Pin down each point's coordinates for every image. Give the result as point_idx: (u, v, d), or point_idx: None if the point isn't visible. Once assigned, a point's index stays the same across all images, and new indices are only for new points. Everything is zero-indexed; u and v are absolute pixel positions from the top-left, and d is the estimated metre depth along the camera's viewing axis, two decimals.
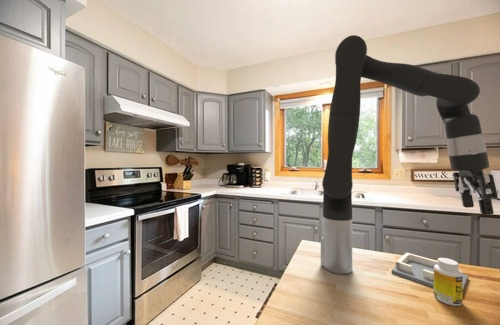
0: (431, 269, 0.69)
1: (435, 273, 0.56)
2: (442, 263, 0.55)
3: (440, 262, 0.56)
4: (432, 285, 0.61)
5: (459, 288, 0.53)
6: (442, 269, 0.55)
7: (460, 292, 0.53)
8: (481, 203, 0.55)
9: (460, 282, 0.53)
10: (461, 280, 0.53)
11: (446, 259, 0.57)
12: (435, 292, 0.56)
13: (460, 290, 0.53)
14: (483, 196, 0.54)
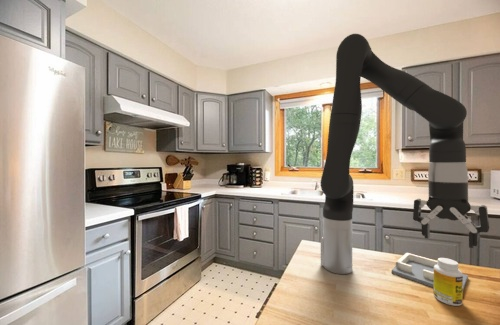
0: (431, 269, 0.69)
1: (435, 273, 0.56)
2: (442, 263, 0.55)
3: (440, 262, 0.56)
4: (432, 285, 0.61)
5: (459, 288, 0.53)
6: (442, 269, 0.55)
7: (460, 292, 0.53)
8: (472, 236, 0.51)
9: (460, 282, 0.53)
10: (461, 280, 0.53)
11: (446, 259, 0.57)
12: (435, 292, 0.56)
13: (460, 290, 0.53)
14: (486, 229, 0.50)
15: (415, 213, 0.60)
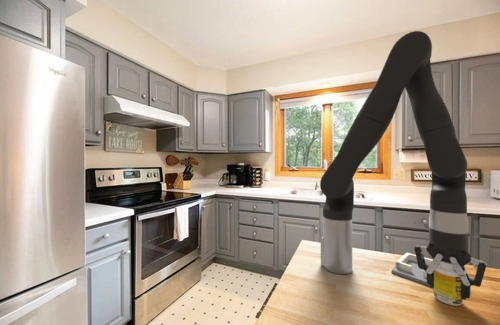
0: None
1: (435, 273, 0.56)
2: (442, 263, 0.55)
3: (440, 262, 0.56)
4: None
5: (459, 288, 0.53)
6: (442, 269, 0.55)
7: (460, 292, 0.53)
8: (465, 288, 0.53)
9: (460, 282, 0.53)
10: (461, 280, 0.53)
11: None
12: (435, 292, 0.56)
13: (460, 290, 0.53)
14: (478, 284, 0.51)
15: (419, 261, 0.59)
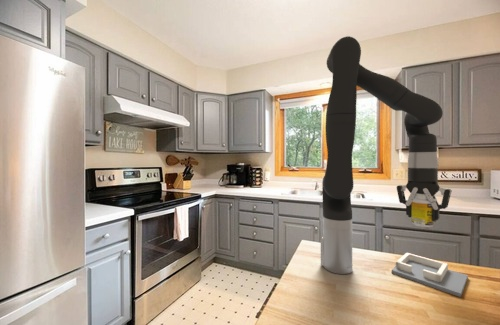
0: (431, 269, 0.69)
1: (412, 204, 0.70)
2: (417, 194, 0.68)
3: (416, 194, 0.69)
4: (432, 285, 0.61)
5: (430, 212, 0.66)
6: (417, 199, 0.68)
7: (431, 216, 0.66)
8: (435, 212, 0.66)
9: (431, 208, 0.66)
10: None
11: None
12: (412, 219, 0.70)
13: (431, 214, 0.66)
14: (444, 206, 0.64)
15: (400, 197, 0.73)
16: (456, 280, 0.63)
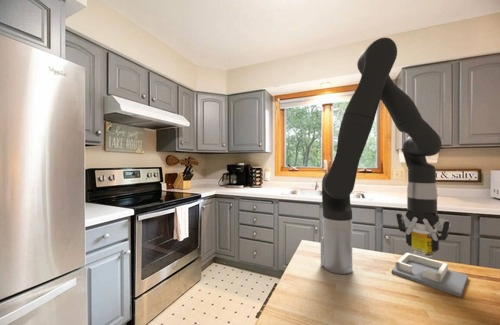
0: (431, 269, 0.69)
1: (412, 233, 0.70)
2: (417, 224, 0.69)
3: (416, 224, 0.69)
4: (432, 285, 0.61)
5: (430, 243, 0.67)
6: (417, 229, 0.69)
7: (431, 246, 0.67)
8: (435, 243, 0.66)
9: (431, 238, 0.67)
10: None
11: None
12: (412, 248, 0.70)
13: (431, 244, 0.67)
14: (444, 238, 0.64)
15: (400, 225, 0.73)
16: (456, 280, 0.63)
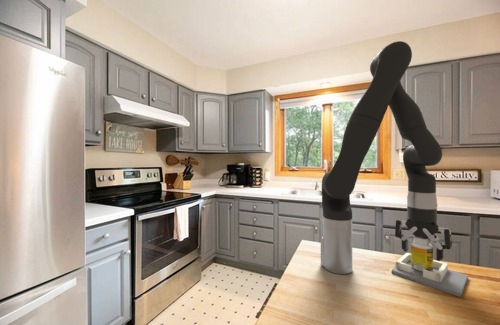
0: None
1: (412, 247, 0.70)
2: (417, 239, 0.69)
3: (415, 238, 0.69)
4: (432, 285, 0.61)
5: (430, 258, 0.67)
6: (417, 244, 0.69)
7: (431, 261, 0.67)
8: (439, 252, 0.65)
9: (431, 253, 0.67)
10: (431, 252, 0.67)
11: None
12: (412, 263, 0.70)
13: (431, 259, 0.67)
14: (448, 247, 0.64)
15: (397, 231, 0.74)
16: (456, 280, 0.63)
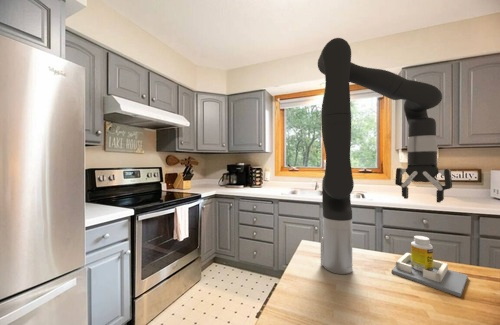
0: None
1: (412, 248, 0.70)
2: (417, 239, 0.69)
3: (415, 238, 0.69)
4: (432, 285, 0.61)
5: (430, 258, 0.67)
6: (417, 244, 0.69)
7: (431, 261, 0.67)
8: (439, 193, 0.66)
9: (431, 253, 0.67)
10: (431, 252, 0.67)
11: (421, 236, 0.70)
12: (412, 263, 0.70)
13: (431, 260, 0.67)
14: (448, 186, 0.64)
15: (397, 179, 0.74)
16: (456, 280, 0.63)
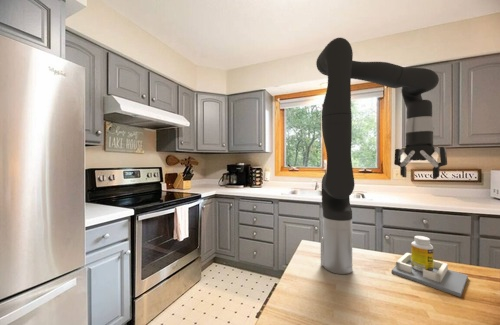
0: None
1: (412, 248, 0.70)
2: (417, 239, 0.69)
3: (416, 238, 0.69)
4: (432, 285, 0.61)
5: (431, 258, 0.67)
6: (417, 244, 0.69)
7: (431, 261, 0.67)
8: (435, 170, 0.70)
9: (431, 253, 0.67)
10: (432, 252, 0.67)
11: (421, 236, 0.70)
12: (412, 263, 0.70)
13: (431, 260, 0.67)
14: (444, 163, 0.69)
15: (396, 159, 0.79)
16: (456, 280, 0.63)
